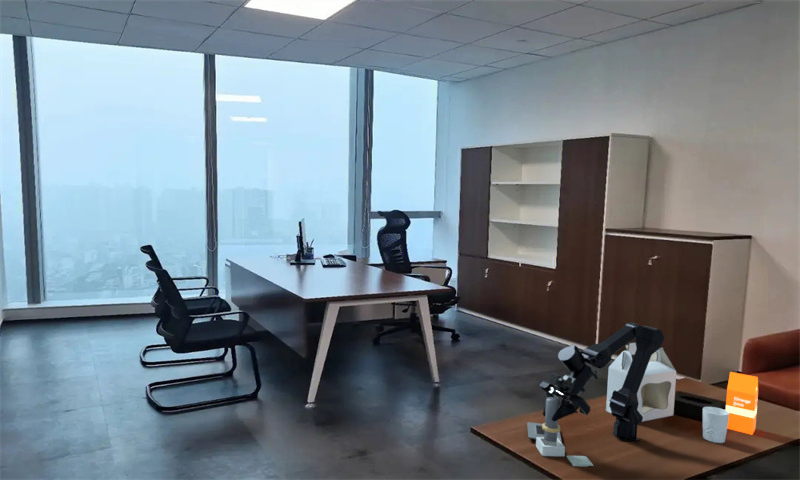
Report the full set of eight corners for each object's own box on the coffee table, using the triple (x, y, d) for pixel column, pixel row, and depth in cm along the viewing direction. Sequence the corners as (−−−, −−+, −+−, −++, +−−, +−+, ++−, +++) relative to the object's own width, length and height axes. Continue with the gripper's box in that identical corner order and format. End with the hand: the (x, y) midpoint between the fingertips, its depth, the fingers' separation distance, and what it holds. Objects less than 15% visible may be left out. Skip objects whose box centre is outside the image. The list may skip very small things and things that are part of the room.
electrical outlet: (561, 446, 179) (561, 439, 179) (528, 443, 181) (528, 436, 181) (557, 431, 192) (558, 424, 192) (526, 428, 194) (527, 421, 194)
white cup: (724, 436, 191) (726, 408, 191) (729, 445, 184) (731, 416, 183) (698, 433, 194) (700, 405, 193) (703, 441, 186) (705, 412, 186)
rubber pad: (585, 457, 171) (585, 455, 171) (593, 466, 165) (593, 464, 165) (566, 457, 170) (566, 455, 170) (573, 466, 164) (573, 464, 164)
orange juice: (727, 422, 205) (731, 369, 204) (755, 428, 200) (759, 374, 198) (723, 428, 199) (727, 373, 198) (752, 435, 194) (756, 379, 192)
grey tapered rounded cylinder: (556, 435, 177) (558, 396, 176) (562, 443, 171) (564, 402, 171) (539, 435, 177) (541, 395, 176) (544, 442, 171) (546, 402, 170)
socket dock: (557, 446, 178) (557, 437, 178) (564, 456, 171) (565, 447, 171) (535, 446, 178) (536, 437, 177) (542, 455, 171) (542, 446, 170)
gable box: (645, 404, 222) (649, 335, 220) (674, 415, 210) (679, 343, 209) (605, 411, 212) (609, 339, 210) (633, 423, 200) (637, 348, 199)
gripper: (545, 356, 183) (516, 392, 179) (585, 372, 166) (554, 413, 162) (562, 377, 186) (534, 413, 183) (603, 395, 169) (573, 435, 166)
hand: (548, 417), depth 173 cm, fingers closed on grey tapered rounded cylinder, 4 cm apart
